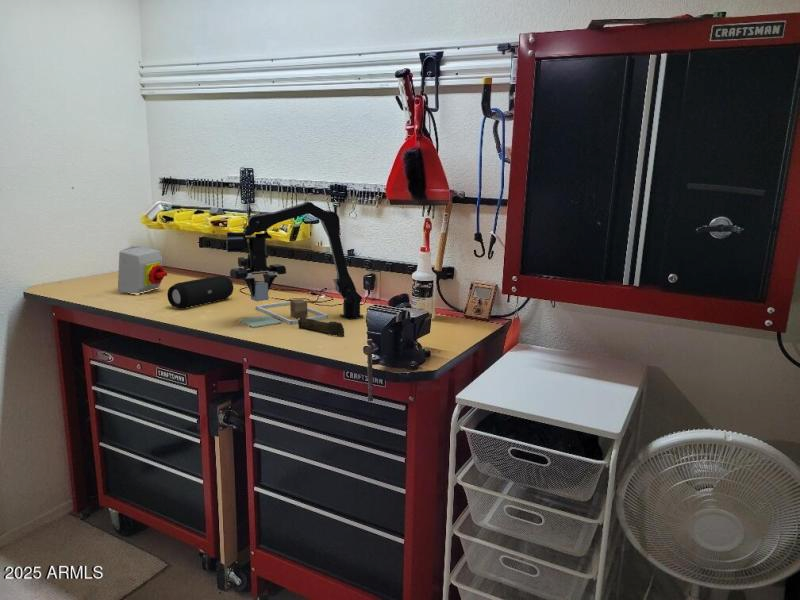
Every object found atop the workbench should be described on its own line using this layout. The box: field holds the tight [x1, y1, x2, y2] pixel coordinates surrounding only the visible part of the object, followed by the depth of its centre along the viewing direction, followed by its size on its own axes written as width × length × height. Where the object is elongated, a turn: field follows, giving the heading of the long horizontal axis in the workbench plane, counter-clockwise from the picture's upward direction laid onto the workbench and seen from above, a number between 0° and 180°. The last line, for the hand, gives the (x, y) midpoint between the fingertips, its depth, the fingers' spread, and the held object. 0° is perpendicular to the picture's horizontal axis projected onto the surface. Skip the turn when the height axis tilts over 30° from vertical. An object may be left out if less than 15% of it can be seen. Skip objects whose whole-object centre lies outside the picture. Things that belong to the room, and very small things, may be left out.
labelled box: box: [250, 280, 269, 302], centre depth 206 cm, size 4×4×6 cm
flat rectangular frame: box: [255, 300, 329, 325], centre depth 222 cm, size 28×16×1 cm, turn 39°
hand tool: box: [297, 317, 345, 337], centre depth 198 cm, size 19×4×5 cm, turn 54°
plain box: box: [289, 298, 308, 320], centre depth 217 cm, size 4×4×6 cm
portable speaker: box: [166, 275, 234, 309], centre depth 234 cm, size 26×10×10 cm, turn 147°
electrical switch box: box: [117, 245, 168, 293], centre depth 251 cm, size 15×15×20 cm
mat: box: [238, 314, 283, 328], centre depth 209 cm, size 11×11×1 cm
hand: (259, 295), depth 207 cm, fingers closed on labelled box, 4 cm apart
